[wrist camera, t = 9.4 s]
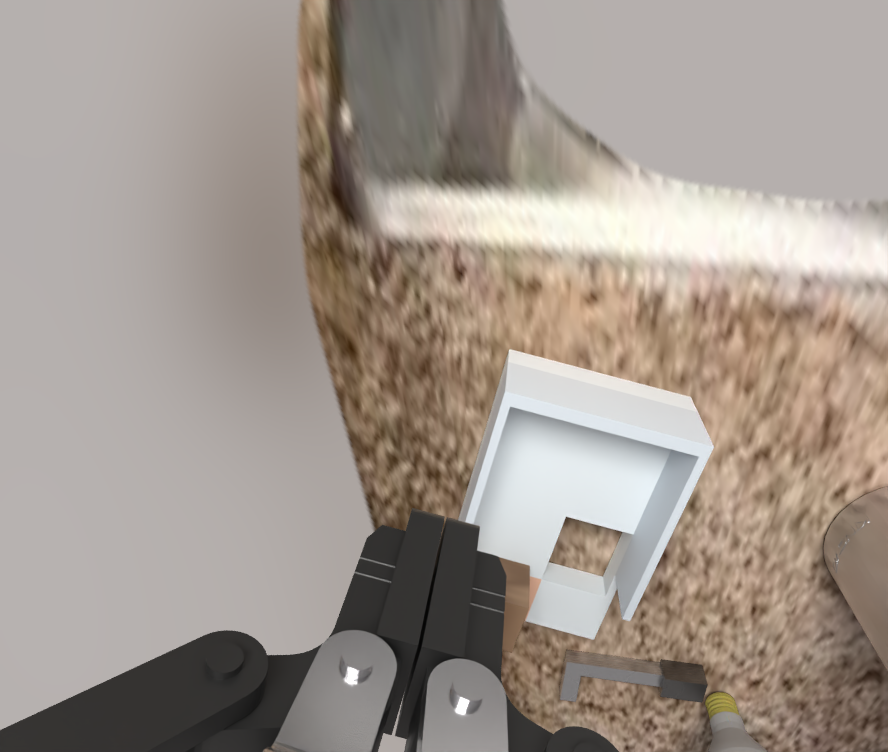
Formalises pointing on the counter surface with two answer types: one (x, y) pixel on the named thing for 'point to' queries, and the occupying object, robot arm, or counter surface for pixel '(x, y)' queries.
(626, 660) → the hook tool
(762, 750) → the light bulb
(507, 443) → the cubby
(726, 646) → the counter surface
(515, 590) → the walnut cube
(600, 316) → the counter surface
